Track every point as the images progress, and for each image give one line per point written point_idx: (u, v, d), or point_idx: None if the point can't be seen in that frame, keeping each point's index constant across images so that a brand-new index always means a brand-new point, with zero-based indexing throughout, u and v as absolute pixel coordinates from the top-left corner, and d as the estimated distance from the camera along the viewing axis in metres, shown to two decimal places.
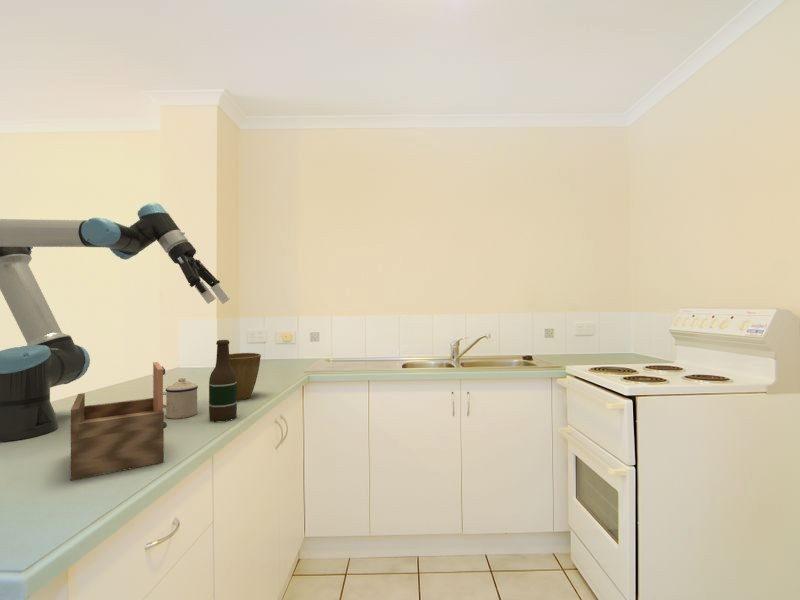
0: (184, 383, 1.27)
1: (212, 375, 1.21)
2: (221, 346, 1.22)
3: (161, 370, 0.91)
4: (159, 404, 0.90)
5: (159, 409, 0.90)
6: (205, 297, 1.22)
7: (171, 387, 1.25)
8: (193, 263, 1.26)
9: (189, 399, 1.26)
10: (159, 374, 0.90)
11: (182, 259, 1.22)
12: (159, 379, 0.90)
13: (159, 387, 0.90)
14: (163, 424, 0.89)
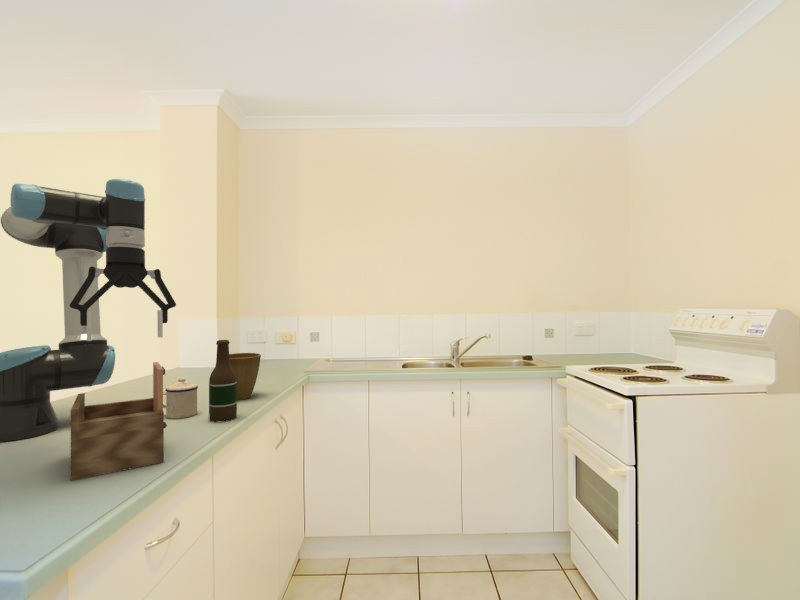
0: (184, 383, 1.27)
1: (212, 375, 1.21)
2: (221, 346, 1.22)
3: (161, 370, 0.91)
4: (159, 404, 0.90)
5: (159, 409, 0.90)
6: None
7: (171, 387, 1.25)
8: (109, 280, 0.91)
9: (189, 399, 1.26)
10: (159, 374, 0.90)
11: (88, 271, 0.89)
12: (159, 379, 0.90)
13: (159, 387, 0.90)
14: (163, 424, 0.89)
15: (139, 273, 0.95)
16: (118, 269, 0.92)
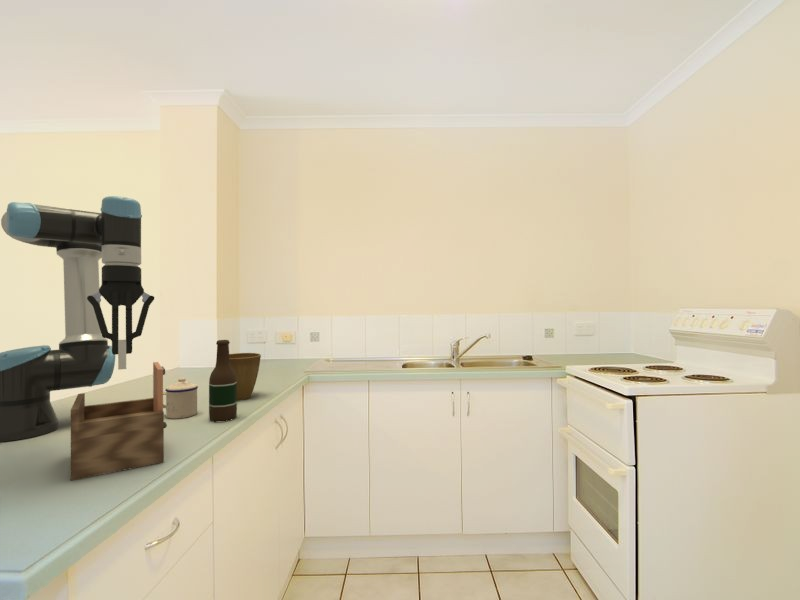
0: (184, 383, 1.27)
1: (212, 375, 1.21)
2: (221, 346, 1.22)
3: (161, 370, 0.91)
4: (159, 404, 0.90)
5: (159, 409, 0.90)
6: None
7: (171, 387, 1.25)
8: (112, 303, 0.90)
9: (189, 399, 1.26)
10: (159, 374, 0.90)
11: (89, 302, 0.89)
12: (159, 379, 0.90)
13: (159, 387, 0.90)
14: (163, 424, 0.89)
15: (135, 290, 0.93)
16: (110, 284, 0.91)
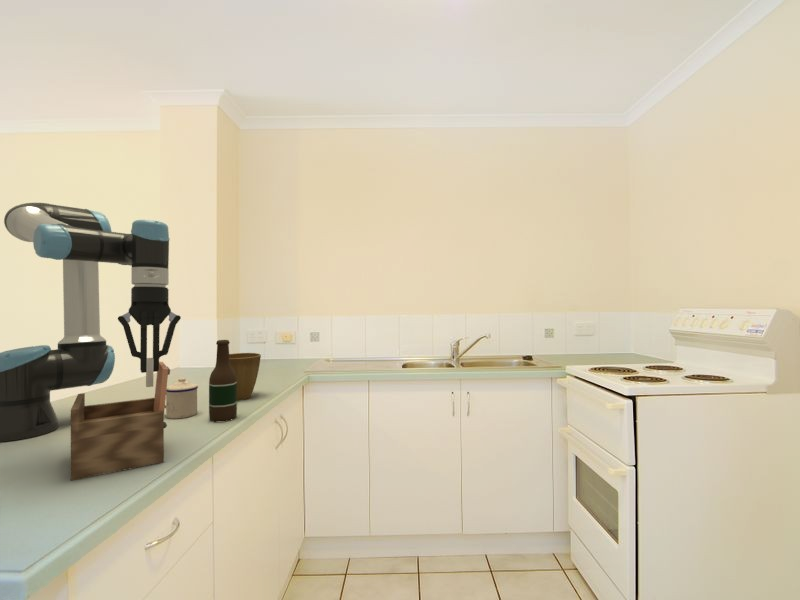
0: (184, 383, 1.27)
1: (212, 375, 1.21)
2: (221, 346, 1.22)
3: (166, 370, 0.91)
4: (161, 404, 0.91)
5: (161, 409, 0.90)
6: None
7: (171, 387, 1.25)
8: (141, 323, 0.93)
9: (189, 399, 1.26)
10: (164, 373, 0.91)
11: (120, 322, 0.92)
12: (164, 378, 0.91)
13: (163, 386, 0.91)
14: (163, 424, 0.89)
15: (162, 310, 0.96)
16: (139, 304, 0.94)
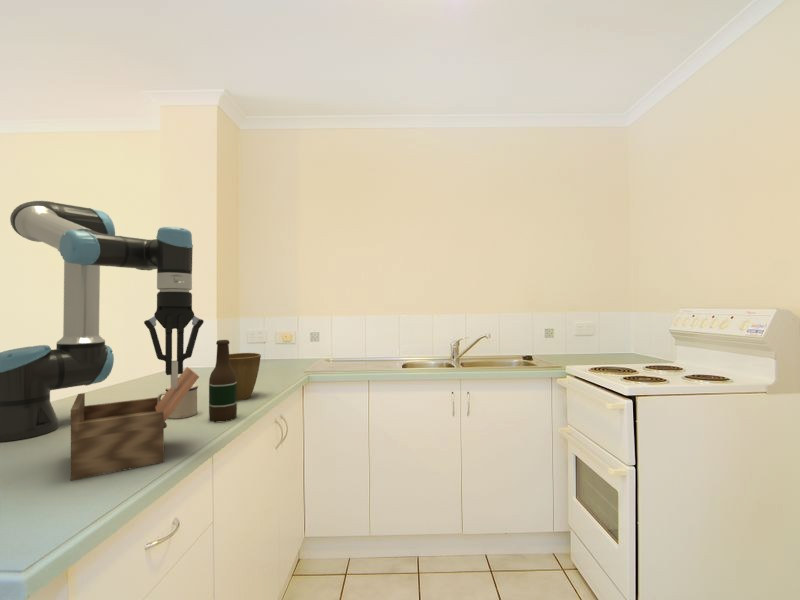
0: None
1: (212, 375, 1.21)
2: (221, 346, 1.22)
3: (197, 377, 0.95)
4: (174, 404, 0.92)
5: (170, 409, 0.92)
6: None
7: None
8: (166, 327, 0.96)
9: (189, 399, 1.26)
10: (193, 379, 0.94)
11: (146, 326, 0.95)
12: (190, 383, 0.94)
13: (185, 390, 0.93)
14: (163, 424, 0.89)
15: (186, 314, 0.99)
16: (164, 309, 0.97)
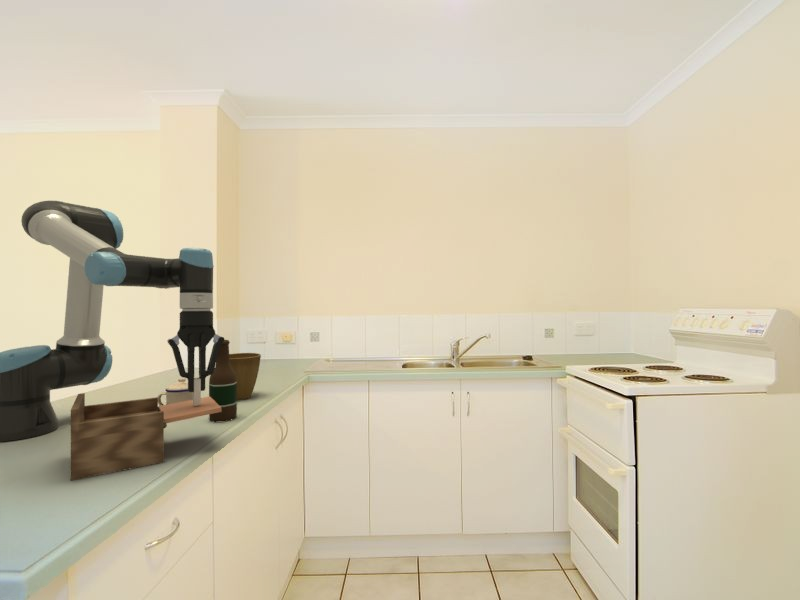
0: (184, 383, 1.27)
1: (212, 375, 1.21)
2: (221, 346, 1.22)
3: (220, 410, 0.97)
4: (185, 416, 0.93)
5: (179, 417, 0.93)
6: None
7: (171, 387, 1.25)
8: (189, 345, 0.99)
9: (189, 399, 1.26)
10: (216, 409, 0.97)
11: (170, 345, 0.98)
12: (211, 410, 0.96)
13: (203, 412, 0.95)
14: (163, 424, 0.89)
15: (208, 332, 1.02)
16: (187, 328, 0.99)
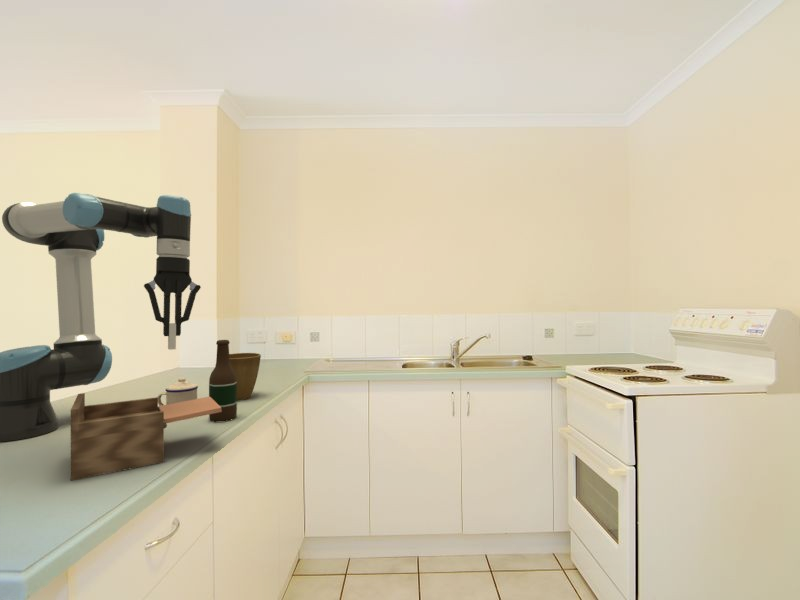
0: (184, 383, 1.27)
1: (212, 375, 1.21)
2: (221, 346, 1.22)
3: (220, 410, 0.97)
4: (185, 416, 0.93)
5: (179, 417, 0.93)
6: (168, 341, 1.04)
7: (171, 387, 1.25)
8: (165, 290, 1.02)
9: (189, 399, 1.26)
10: (216, 410, 0.97)
11: (146, 289, 1.00)
12: (211, 411, 0.96)
13: (203, 412, 0.95)
14: (163, 424, 0.89)
15: (184, 279, 1.05)
16: (163, 273, 1.02)
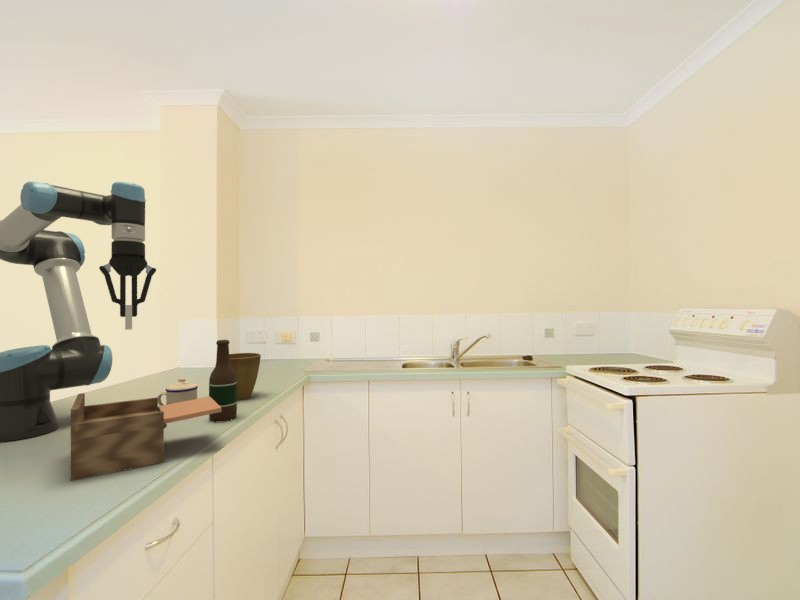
0: (184, 383, 1.27)
1: (212, 375, 1.21)
2: (221, 346, 1.22)
3: (220, 410, 0.97)
4: (185, 416, 0.93)
5: (179, 417, 0.93)
6: None
7: (171, 387, 1.25)
8: (120, 272, 1.06)
9: (189, 399, 1.26)
10: (216, 410, 0.97)
11: (101, 271, 1.05)
12: (211, 411, 0.96)
13: (203, 412, 0.95)
14: (163, 424, 0.89)
15: (140, 262, 1.09)
16: (118, 256, 1.06)
